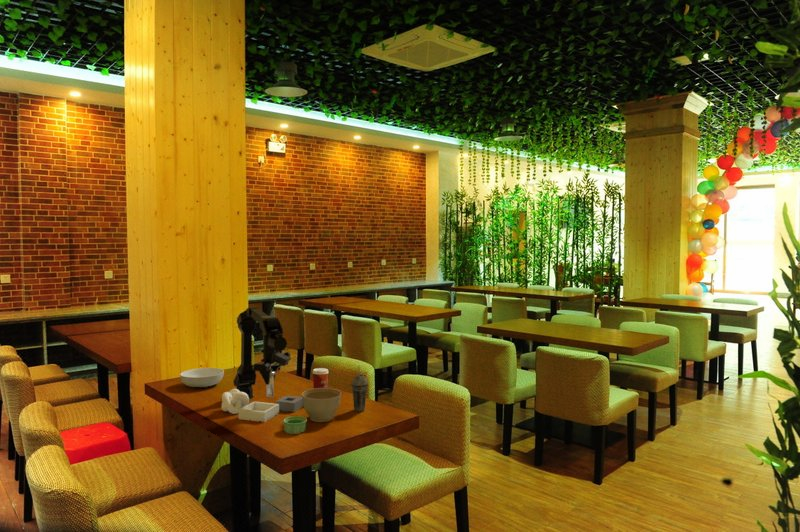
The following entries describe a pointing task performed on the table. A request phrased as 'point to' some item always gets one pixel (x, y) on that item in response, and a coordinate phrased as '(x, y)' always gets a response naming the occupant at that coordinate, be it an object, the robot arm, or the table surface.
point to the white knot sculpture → (234, 401)
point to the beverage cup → (359, 391)
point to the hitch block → (290, 403)
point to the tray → (258, 411)
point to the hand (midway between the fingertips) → (269, 383)
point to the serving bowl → (202, 377)
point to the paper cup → (320, 377)
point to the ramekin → (295, 424)
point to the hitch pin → (270, 385)
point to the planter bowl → (321, 403)
